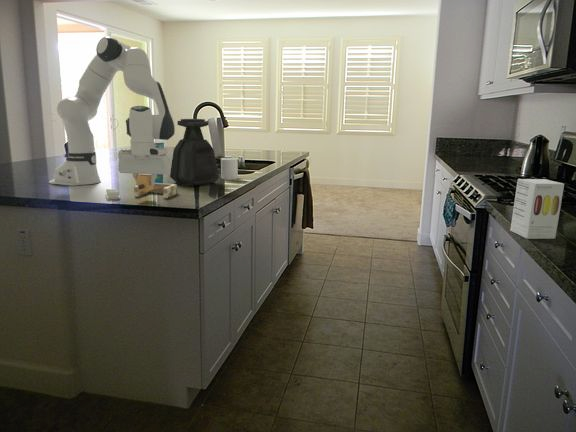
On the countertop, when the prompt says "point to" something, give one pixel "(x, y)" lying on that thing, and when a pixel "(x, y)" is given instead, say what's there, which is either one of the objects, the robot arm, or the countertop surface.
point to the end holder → (159, 190)
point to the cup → (229, 168)
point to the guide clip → (112, 194)
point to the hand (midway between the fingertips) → (145, 185)
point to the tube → (159, 176)
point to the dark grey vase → (193, 156)
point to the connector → (144, 182)
